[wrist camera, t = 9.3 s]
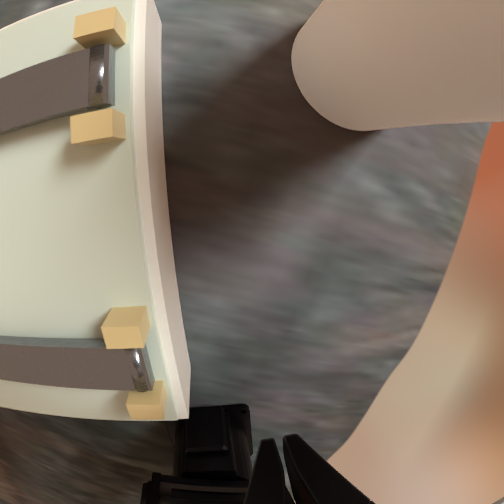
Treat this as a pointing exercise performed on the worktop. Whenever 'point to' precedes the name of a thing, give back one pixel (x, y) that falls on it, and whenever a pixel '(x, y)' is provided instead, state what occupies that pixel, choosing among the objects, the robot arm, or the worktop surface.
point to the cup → (402, 62)
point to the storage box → (92, 217)
